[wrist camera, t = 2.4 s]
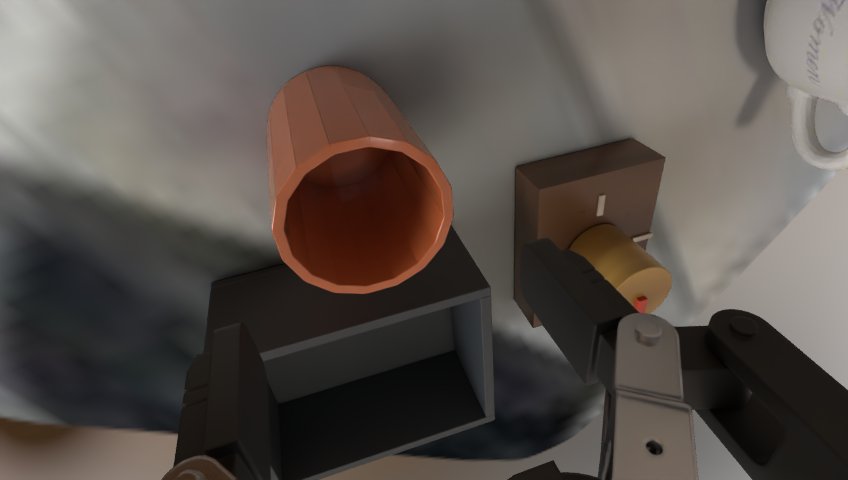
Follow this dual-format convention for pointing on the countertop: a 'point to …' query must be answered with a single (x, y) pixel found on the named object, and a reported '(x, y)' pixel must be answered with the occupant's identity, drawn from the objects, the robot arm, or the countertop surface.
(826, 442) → the robot arm
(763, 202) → the countertop surface
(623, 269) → the tap knob
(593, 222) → the tap block
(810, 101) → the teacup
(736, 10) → the countertop surface
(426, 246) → the cup
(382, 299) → the basin
